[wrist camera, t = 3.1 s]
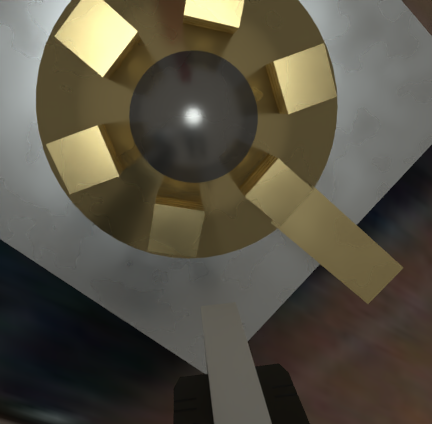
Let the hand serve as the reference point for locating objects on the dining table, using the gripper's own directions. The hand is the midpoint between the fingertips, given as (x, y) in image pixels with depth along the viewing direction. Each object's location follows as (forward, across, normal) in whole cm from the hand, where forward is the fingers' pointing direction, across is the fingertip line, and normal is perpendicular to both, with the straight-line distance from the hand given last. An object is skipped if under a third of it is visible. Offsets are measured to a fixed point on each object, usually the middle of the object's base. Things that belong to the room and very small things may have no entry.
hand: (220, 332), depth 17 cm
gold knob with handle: (+3, +2, +7) cm, 8 cm away
